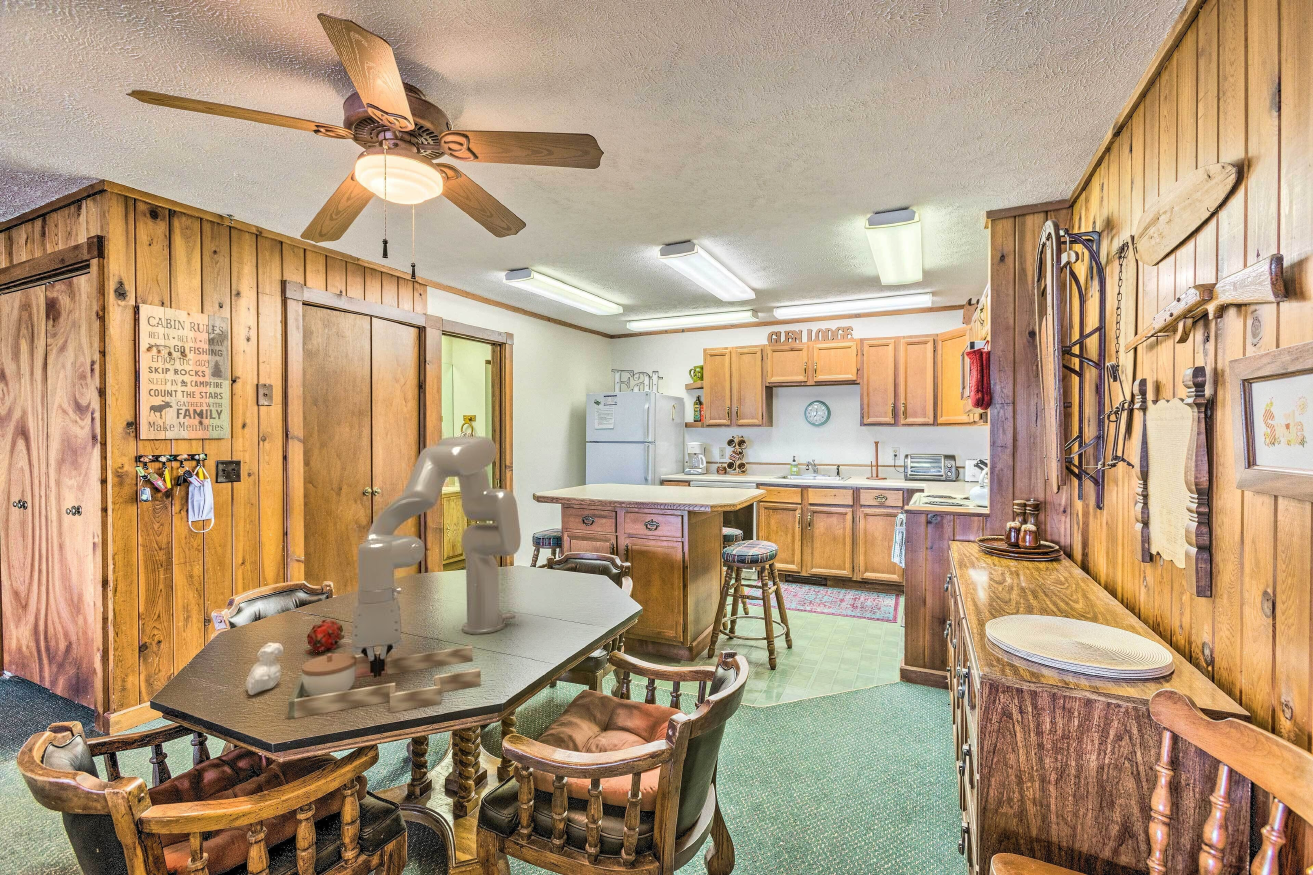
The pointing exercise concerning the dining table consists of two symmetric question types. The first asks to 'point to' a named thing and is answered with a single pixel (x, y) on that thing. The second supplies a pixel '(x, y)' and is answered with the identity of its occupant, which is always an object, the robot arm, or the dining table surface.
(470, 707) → the dining table surface
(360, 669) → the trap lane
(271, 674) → the duck figurine
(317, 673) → the lidded jar
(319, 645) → the dragon fruit
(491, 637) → the dining table surface
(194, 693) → the dining table surface
